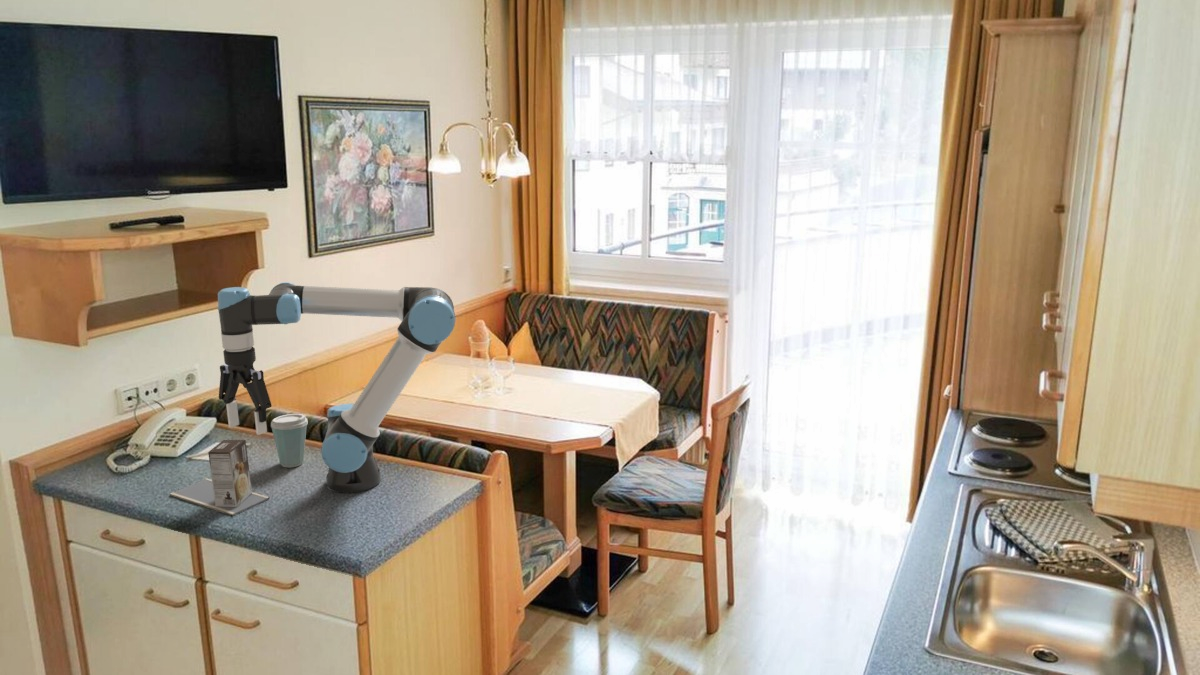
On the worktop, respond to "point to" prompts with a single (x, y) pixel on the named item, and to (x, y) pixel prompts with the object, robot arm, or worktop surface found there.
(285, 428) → the disposable coffee cup
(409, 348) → the robot arm
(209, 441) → the worktop surface
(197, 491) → the felt mat
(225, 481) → the coffee box
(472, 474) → the worktop surface
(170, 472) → the worktop surface
